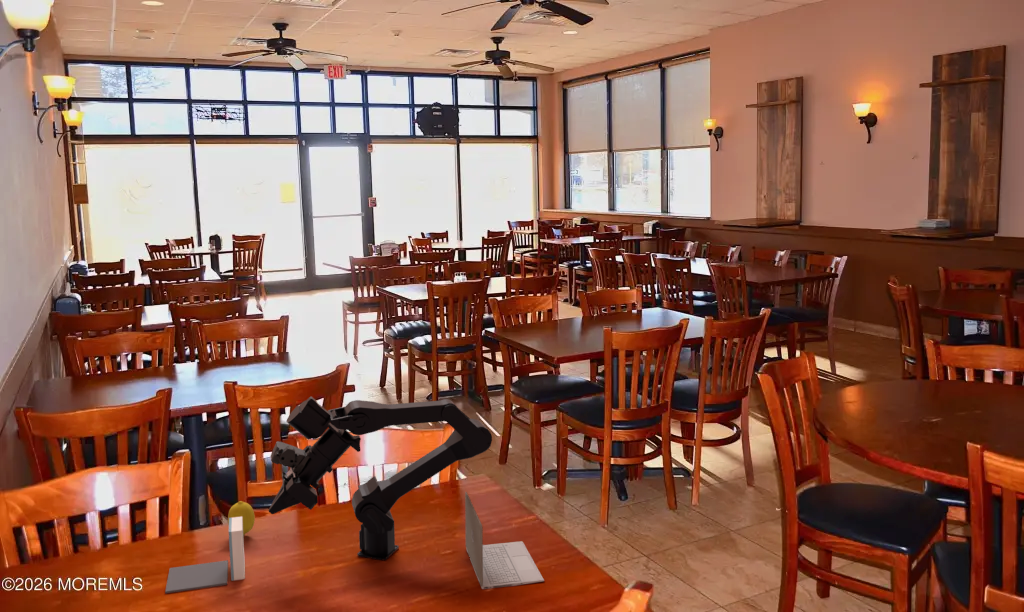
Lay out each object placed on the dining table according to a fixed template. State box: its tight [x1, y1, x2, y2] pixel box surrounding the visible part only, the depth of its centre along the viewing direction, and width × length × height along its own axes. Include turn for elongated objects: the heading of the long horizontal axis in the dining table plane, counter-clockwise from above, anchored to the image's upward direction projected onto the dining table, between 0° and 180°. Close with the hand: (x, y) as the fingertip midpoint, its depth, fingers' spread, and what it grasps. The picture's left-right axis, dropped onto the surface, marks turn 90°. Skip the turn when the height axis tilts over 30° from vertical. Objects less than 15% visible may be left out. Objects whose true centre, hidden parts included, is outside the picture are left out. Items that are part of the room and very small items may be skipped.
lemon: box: [227, 500, 256, 537], centre depth 179 cm, size 6×6×8 cm
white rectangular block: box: [228, 517, 246, 582], centre depth 162 cm, size 2×7×10 cm, turn 18°
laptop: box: [464, 491, 545, 590], centre depth 165 cm, size 18×12×13 cm
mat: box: [164, 559, 229, 594], centre depth 161 cm, size 11×10×1 cm
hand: (270, 512), depth 163 cm, fingers closed
